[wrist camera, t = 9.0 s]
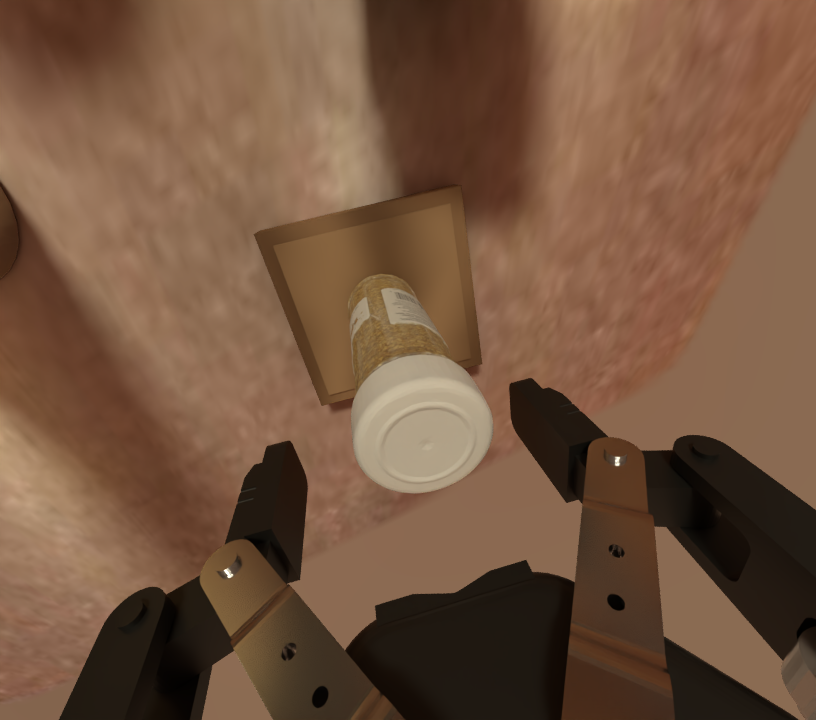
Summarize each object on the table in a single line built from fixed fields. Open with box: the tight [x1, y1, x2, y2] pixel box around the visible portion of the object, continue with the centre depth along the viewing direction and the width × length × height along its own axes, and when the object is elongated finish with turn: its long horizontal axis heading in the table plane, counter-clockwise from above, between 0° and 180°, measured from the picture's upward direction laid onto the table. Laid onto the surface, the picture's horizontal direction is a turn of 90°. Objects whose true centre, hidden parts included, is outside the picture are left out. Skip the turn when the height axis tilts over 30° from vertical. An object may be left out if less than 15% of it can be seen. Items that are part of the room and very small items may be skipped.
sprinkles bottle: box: [347, 274, 493, 493], centre depth 17 cm, size 5×5×13 cm
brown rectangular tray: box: [254, 185, 482, 406], centre depth 24 cm, size 12×12×2 cm
